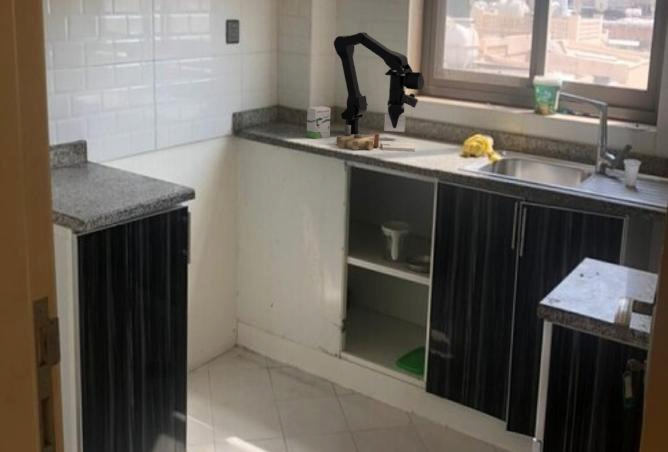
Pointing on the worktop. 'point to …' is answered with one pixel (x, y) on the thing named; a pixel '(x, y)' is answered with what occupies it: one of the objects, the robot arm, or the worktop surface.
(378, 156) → the worktop surface
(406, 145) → the pad
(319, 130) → the ink box
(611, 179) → the worktop surface
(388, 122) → the marked link
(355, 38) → the robot arm
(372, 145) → the sprocket
